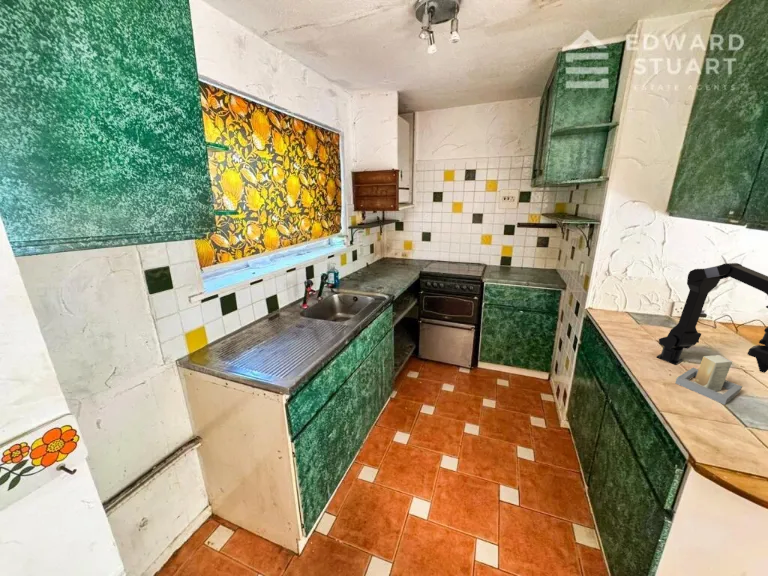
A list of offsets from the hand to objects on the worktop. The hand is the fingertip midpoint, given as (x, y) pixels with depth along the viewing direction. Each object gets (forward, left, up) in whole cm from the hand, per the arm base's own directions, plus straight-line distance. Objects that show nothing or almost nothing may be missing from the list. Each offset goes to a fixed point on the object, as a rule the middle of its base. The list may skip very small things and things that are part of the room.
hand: (762, 371), depth 96 cm
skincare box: (0, -10, -13) cm, 17 cm away
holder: (0, -10, -13) cm, 16 cm away
